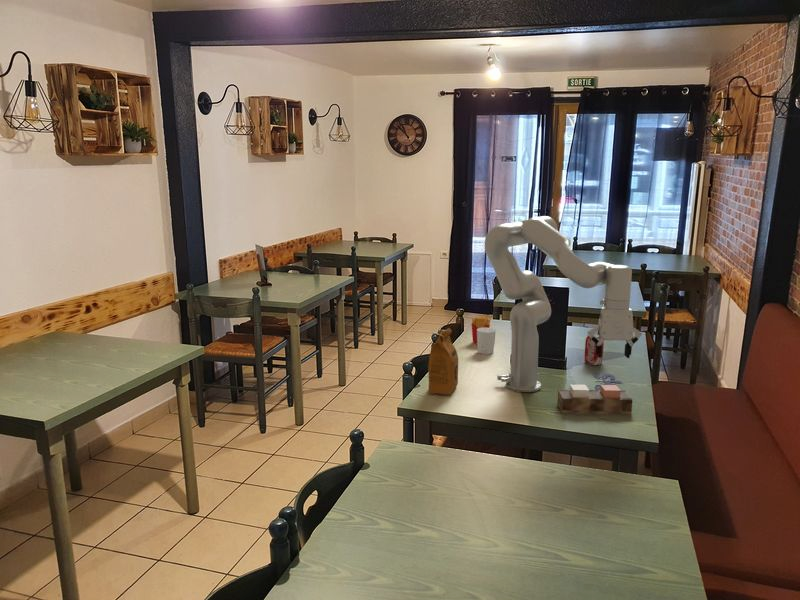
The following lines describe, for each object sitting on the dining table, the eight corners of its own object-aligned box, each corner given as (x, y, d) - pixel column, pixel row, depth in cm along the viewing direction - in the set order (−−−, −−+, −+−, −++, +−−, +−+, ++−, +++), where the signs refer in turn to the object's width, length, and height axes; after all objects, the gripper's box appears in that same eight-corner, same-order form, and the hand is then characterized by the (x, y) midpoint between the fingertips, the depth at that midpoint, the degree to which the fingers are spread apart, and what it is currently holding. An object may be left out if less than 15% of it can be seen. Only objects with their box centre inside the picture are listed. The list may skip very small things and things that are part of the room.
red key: (604, 401, 196) (604, 390, 195) (599, 395, 201) (600, 384, 200) (619, 401, 196) (620, 390, 195) (615, 396, 201) (616, 385, 200)
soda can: (604, 366, 241) (606, 337, 239) (586, 366, 242) (588, 337, 239) (599, 361, 248) (601, 332, 246) (581, 360, 248) (583, 332, 246)
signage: (592, 372, 233) (620, 374, 231) (592, 374, 234) (620, 376, 231) (596, 399, 207) (627, 402, 204) (596, 401, 207) (627, 404, 204)
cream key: (572, 401, 197) (573, 389, 196) (569, 395, 202) (570, 384, 201) (588, 401, 197) (589, 390, 196) (584, 395, 201) (585, 384, 201)
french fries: (470, 343, 274) (471, 317, 271) (472, 340, 277) (472, 315, 275) (489, 344, 271) (489, 318, 269) (490, 342, 275) (491, 316, 272)
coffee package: (462, 386, 220) (463, 328, 215) (450, 398, 209) (451, 337, 204) (436, 382, 224) (437, 325, 219) (424, 394, 213) (424, 334, 208)
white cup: (473, 350, 263) (474, 328, 261) (489, 348, 265) (490, 326, 263) (481, 355, 256) (481, 332, 254) (498, 354, 258) (498, 331, 256)
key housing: (562, 413, 196) (563, 398, 195) (557, 403, 204) (558, 389, 203) (631, 414, 195) (632, 399, 194) (623, 404, 203) (624, 390, 202)
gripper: (592, 306, 189) (588, 360, 192) (648, 307, 188) (644, 360, 191) (585, 301, 196) (582, 353, 200) (640, 301, 195) (636, 353, 199)
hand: (612, 356), depth 196 cm, fingers open, 8 cm apart
